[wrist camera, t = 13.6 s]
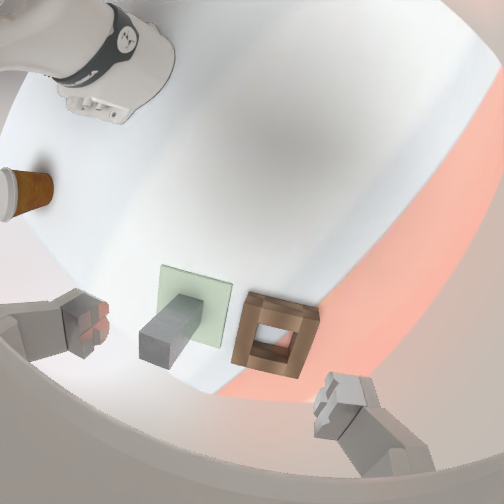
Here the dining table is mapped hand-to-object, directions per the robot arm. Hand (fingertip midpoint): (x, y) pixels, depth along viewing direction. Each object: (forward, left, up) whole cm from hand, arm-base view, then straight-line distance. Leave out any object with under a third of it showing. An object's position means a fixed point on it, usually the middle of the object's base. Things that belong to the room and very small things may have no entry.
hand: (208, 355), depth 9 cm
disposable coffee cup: (-44, -1, -28) cm, 52 cm away
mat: (-9, -14, -28) cm, 33 cm away
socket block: (+4, -14, -28) cm, 32 cm away
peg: (-9, -14, -27) cm, 32 cm away
